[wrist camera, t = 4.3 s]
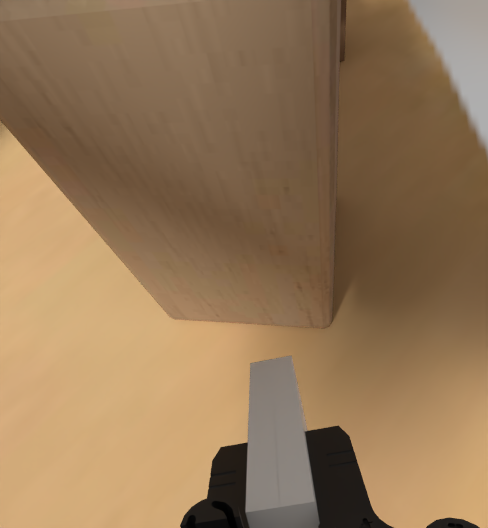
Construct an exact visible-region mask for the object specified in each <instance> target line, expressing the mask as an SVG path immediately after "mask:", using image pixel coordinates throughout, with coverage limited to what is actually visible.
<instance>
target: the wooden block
mask: <svg viewBox="0 0 488 528" xmlns="http://www.w3.org/2000/svg"><path fill="white" fill-rule="evenodd" d="M340 23H341V0H0V120H1V121H2V123H3V124H4V125H5V126H6V127H7V128H8V130H9V131H10V132H11V133H12V134H13V135H14V137H15V138H16V139H17V140H18V141H19V142H20V144H21V145H22V146H23V147H24V148H25V149H26V150H27V152H28V153H29V154H30V155H31V156H32V157H33V159H34V160H35V161H36V162H37V163H38V164H39V166H40V167H41V168H42V169H43V170H44V171H45V173H46V174H47V175H48V176H49V177H50V178H51V180H52V181H53V182H54V183H55V184H56V185H57V186H58V188H59V189H60V190H61V191H62V192H63V193H64V195H65V196H66V197H67V198H68V199H69V200H70V202H71V203H72V204H73V205H74V206H75V207H76V209H77V210H78V211H79V212H80V213H81V214H82V216H83V217H84V218H85V219H86V220H87V221H88V223H89V224H90V225H91V226H92V227H93V228H94V229H95V231H96V232H97V233H98V234H99V235H100V236H101V238H102V239H103V240H104V241H105V242H106V243H107V245H108V246H109V247H110V248H111V249H112V250H113V252H114V253H115V254H116V255H117V256H118V257H119V259H120V260H121V261H122V262H123V263H124V264H125V265H126V267H127V268H128V269H129V270H130V271H131V272H132V274H133V275H134V276H135V277H136V278H137V279H138V281H139V282H140V283H141V284H142V285H143V286H144V288H145V289H146V290H147V291H148V292H149V293H150V295H151V296H152V297H153V298H154V299H155V300H156V301H157V303H158V304H159V305H160V306H161V307H162V308H163V310H164V311H165V312H166V313H167V314H168V315H169V317H171V318H173V319H179V320H195V321H212V322H229V323H245V324H262V325H278V326H295V327H312V328H325V327H329V326H330V324H331V322H332V311H333V281H334V252H335V223H336V194H337V151H338V108H339V65H340Z"/></svg>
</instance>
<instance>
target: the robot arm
mask: <svg viewBox="0 0 488 528" xmlns="http://www.w3.org/2000/svg"><path fill="white" fill-rule="evenodd" d="M180 527H181V528H393V527H391V526H389V525H387V524H386V523H384V522H383V521H382V520H380V519H379V517H378V516H377V515H376V514H375V513H374V511H373V509H372V507H371V504H370V501H369V498H368V495H367V491H366V488H365V485H364V482H363V479H362V475H361V472H360V469H359V466H358V463H357V459H356V456H355V453H354V450H353V447H352V443H351V440H350V437H349V435H348V434H347V433H345V432H344V431H343V430H342V429H341V428H340V427H339V426H334V427H328V428H322V429H317V430H311V431H307V426H306V420H305V416H304V411H303V406H302V402H301V397H300V393H299V388H298V383H297V379H296V374H295V370H294V365H293V360H292V356H286V357H281V358H276V359H270V360H265V361H260V362H254V363H250V391H249V421H248V443H243V444H237V445H231V446H225V447H221V448H220V450H219V451H218V453H217V454H216V456H215V458H214V459H213V461H212V468H211V478H210V482H209V489H208V496H207V499H205V500H202V501H200V502H199V503H197V504H196V505H194V506H193V507H191V509H190V510H189V511H188V512H187V513H186V514H185V515H184V518H183V520H182V523H181V525H180ZM426 528H479V527H478V526H477V525H475V524H472V523H470V522H468V521H465V520H463V519H455V518H445V519H439V520H436V521H434V522H433V523H431V524H430V525H428V526H427V527H426Z"/></svg>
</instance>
